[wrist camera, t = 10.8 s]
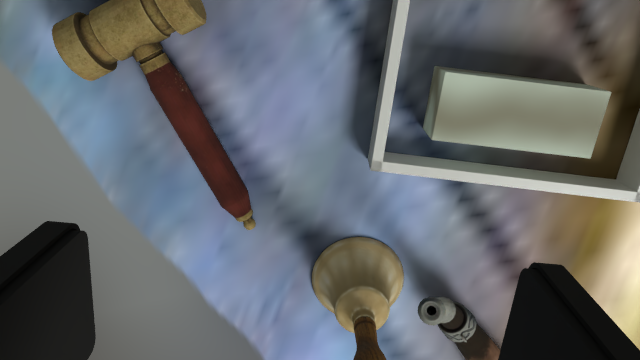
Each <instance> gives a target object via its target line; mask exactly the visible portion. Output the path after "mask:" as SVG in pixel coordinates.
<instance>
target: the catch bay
mask: <svg viewBox="0 0 640 360" xmlns="http://www.w3.org/2000/svg"><path fill="white" fill-rule="evenodd" d="M409 3H410V0H393V3H392V9H391V15H390V22H389V28H388V34H387V41H386V47H385V53H384V60H383V66H382V72H381V79H380V85H379V91H378V97H377V104H376V110H375V116H374V123H373V129H372V135H371V142H370V148H369V154H368V162H369V166H370V170H371V171H380V172H388V173H397V174H405V175H413V176H422V177H430V178H439V179H447V180H455V181H464V182H472V183H481V184H489V185H497V186H506V187H514V188H523V189H531V190H540V191H548V192H556V193H565V194H573V195H582V196H590V197H598V198H607V199H615V200H624V201H632V202H640V109H639V112H638V115H637V118H636V121H635V124H634V127H633V130H632V133H631V136H630V139H629V142H628V145H627V148H626V151H625V154H624V157H623V160H622V163H621V166H620V169H619V172H618V175H617V178H616V180H615V179H606V178H598V177H590V176H582V175H573V174H565V173H557V172H548V171H540V170H532V169H523V168H515V167H507V166H498V165H490V164H482V163H473V162H465V161H457V160H448V159H440V158H432V157H423V156H415V155H407V154H398V153H390V152H384V151H385V145H386V139H387V133H388V127H389V121H390V115H391V109H392V104H393V98H394V92H395V86H396V80H397V74H398V68H399V62H400V56H401V50H402V44H403V39H404V33H405V27H406V21H407V15H408V9H409Z"/></svg>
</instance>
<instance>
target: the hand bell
mask: <svg viewBox="0 0 640 360" xmlns="http://www.w3.org/2000/svg"><path fill="white" fill-rule="evenodd" d="M403 281H404V272H403V267H402V264H401V262H400V260H399V258H398V256H397V255H396V254H395V252H394V251H393V250H392V249H391V248H389V247H388V246H387V245H385V244H384V243H382V242H380V241H378V240H374V239H371V238H366V237H351V238H347V239H343V240H340V241H338V242H335V243H334V244H332V245H330V246H329V247H328V248H326V249H325V250H324V251H323V252H322V253H321V255H320V256H319V258H318V259H317V261H316V263H315V265H314V268H313V272H312V285H313V289H314V292H315V295H316V296H317V298H318V300H319V301H320V302H321V303H322V305H323V306H324V307H326V308H327V309H328V310H329V311H331V312H332V313H334V314H335V316H336V319H337V321H338V322H339V324H340V325H341V326H342V327H343V328H345V329H346V330H348V331H350V332H353V333H355V337H356V343H357V351H356V354H355V357H354V360H386V358H385V356H384V354H383V353H382V351H381V350H380V348H379V346H378V342H377V333H376V330H377V329H379V328H380V327H381V326H382V325H383V324H384V323H385V322H386V320H387V318H388V315H389V311H390V306H391V305H392V304H393V303H394V302H395V301H396V299H397V298H398V296H399V294H400V292H401V290H402V287H403Z"/></svg>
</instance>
